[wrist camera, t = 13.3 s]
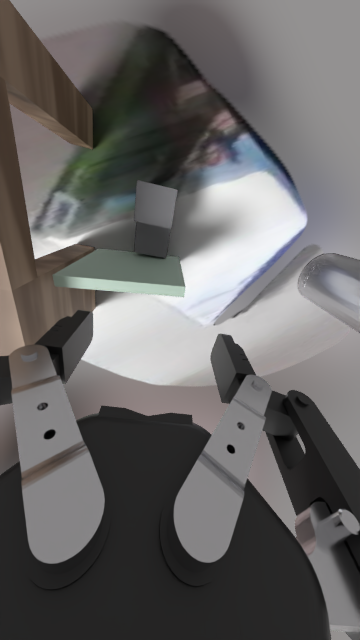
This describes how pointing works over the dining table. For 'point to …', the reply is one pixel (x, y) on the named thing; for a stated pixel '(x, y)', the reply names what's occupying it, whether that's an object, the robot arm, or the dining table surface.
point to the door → (124, 273)
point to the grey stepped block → (153, 218)
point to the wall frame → (7, 191)
